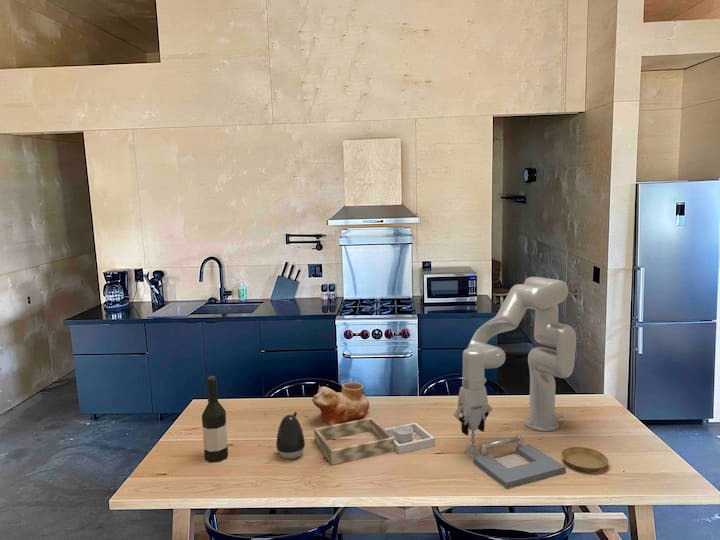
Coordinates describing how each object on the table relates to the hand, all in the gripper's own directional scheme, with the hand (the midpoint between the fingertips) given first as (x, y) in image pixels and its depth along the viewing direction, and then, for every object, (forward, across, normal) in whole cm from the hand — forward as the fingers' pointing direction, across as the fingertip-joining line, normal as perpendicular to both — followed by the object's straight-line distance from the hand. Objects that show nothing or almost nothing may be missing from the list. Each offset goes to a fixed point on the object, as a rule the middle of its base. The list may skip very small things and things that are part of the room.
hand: (473, 431), depth 188 cm
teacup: (+9, +18, -19) cm, 28 cm away
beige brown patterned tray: (+8, +37, -23) cm, 44 cm away
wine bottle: (+8, +85, -36) cm, 93 cm away
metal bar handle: (+8, -8, +6) cm, 13 cm away
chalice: (+8, 0, 0) cm, 8 cm away
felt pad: (+8, -8, +12) cm, 16 cm away
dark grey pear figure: (+8, +60, -26) cm, 66 cm away
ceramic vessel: (+8, +32, -49) cm, 59 cm away
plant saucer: (+9, -30, +22) cm, 38 cm away
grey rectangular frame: (+8, -8, +15) cm, 19 cm away
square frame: (+8, +17, -18) cm, 26 cm away
